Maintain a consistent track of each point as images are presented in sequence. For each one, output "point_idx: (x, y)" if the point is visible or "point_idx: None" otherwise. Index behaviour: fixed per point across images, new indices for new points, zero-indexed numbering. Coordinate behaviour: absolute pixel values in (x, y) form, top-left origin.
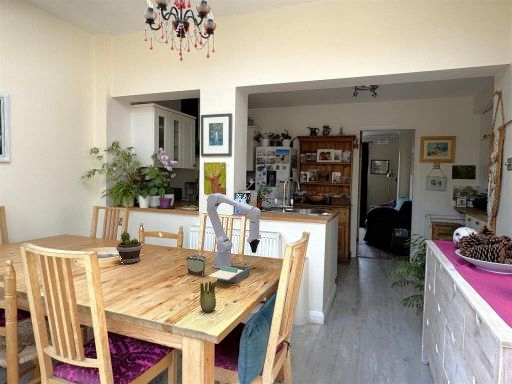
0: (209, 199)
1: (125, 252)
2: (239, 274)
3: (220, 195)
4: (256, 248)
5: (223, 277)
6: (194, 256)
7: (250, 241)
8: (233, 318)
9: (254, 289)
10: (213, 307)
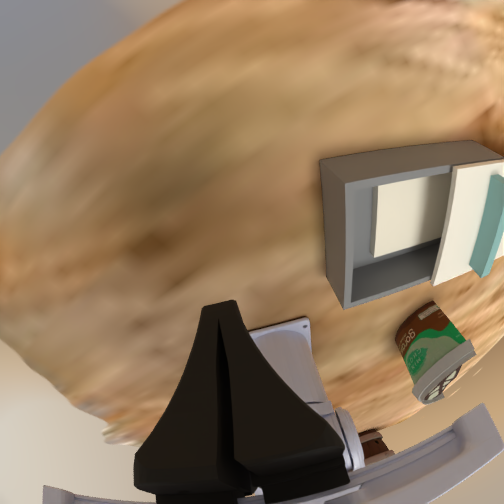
0: None
1: (388, 449)
2: (480, 158)
3: None
4: (217, 349)
5: None
6: (424, 398)
7: (486, 418)
8: None
9: (487, 29)
10: None
